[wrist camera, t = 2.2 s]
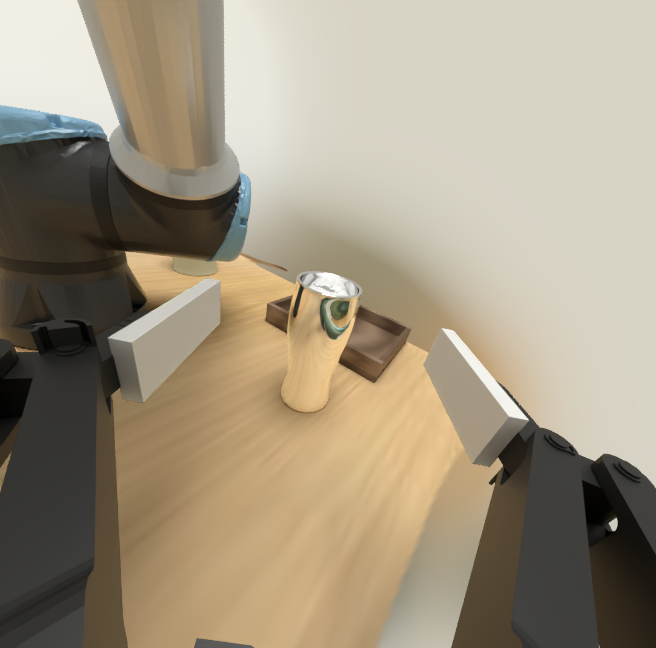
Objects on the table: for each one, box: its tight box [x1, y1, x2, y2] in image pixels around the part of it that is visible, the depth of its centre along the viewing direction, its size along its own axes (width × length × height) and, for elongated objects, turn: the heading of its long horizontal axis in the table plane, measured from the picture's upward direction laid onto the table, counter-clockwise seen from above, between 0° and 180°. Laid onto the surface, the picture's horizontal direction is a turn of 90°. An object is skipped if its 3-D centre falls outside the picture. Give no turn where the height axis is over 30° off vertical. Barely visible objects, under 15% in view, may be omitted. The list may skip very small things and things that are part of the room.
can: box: [173, 257, 217, 276], centre depth 55 cm, size 9×9×12 cm
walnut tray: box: [266, 295, 412, 383], centre depth 46 cm, size 22×16×4 cm
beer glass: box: [281, 271, 362, 413], centre depth 28 cm, size 7×7×15 cm
